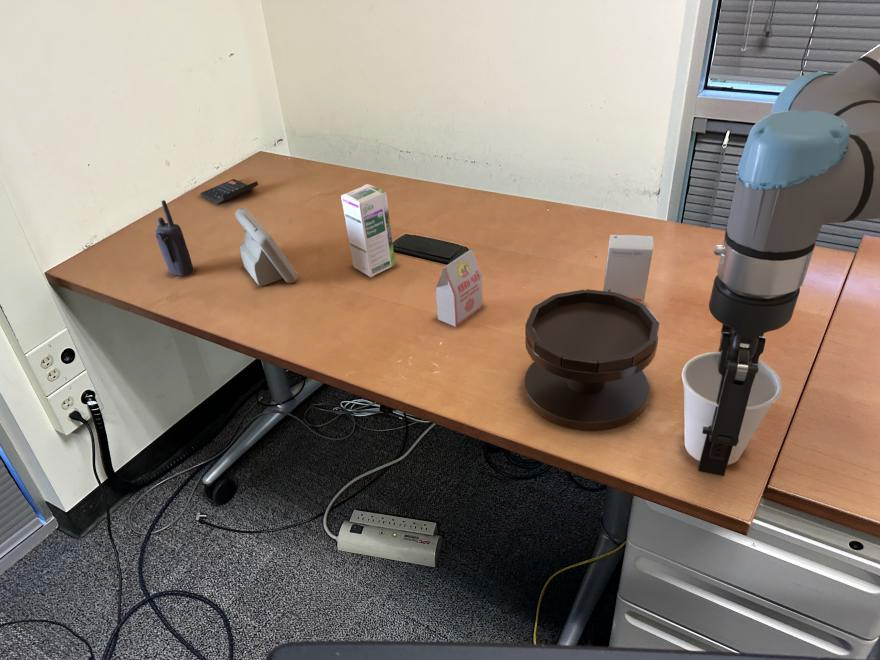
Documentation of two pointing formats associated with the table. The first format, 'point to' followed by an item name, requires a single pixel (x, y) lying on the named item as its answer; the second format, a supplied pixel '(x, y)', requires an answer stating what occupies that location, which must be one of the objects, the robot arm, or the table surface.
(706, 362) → the cup
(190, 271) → the two-way radio
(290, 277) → the digital clock
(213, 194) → the calculator
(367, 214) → the syrup box
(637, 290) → the cosmetic box
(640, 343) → the cup stand
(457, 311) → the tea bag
